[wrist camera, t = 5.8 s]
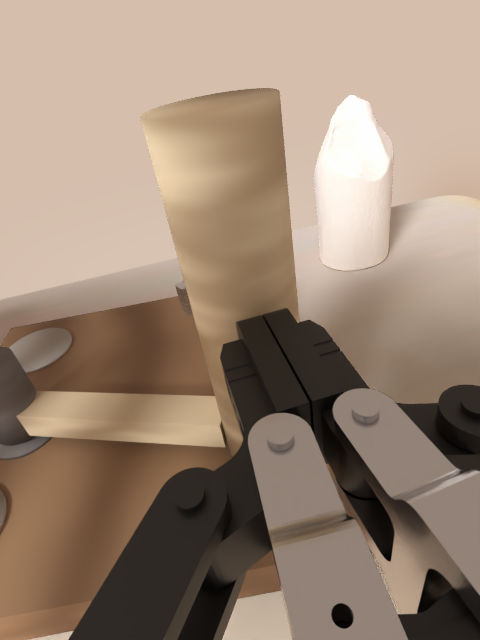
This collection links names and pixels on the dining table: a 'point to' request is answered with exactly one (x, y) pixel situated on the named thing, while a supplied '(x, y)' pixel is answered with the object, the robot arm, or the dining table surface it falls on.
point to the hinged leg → (191, 271)
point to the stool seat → (94, 463)
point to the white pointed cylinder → (354, 189)
